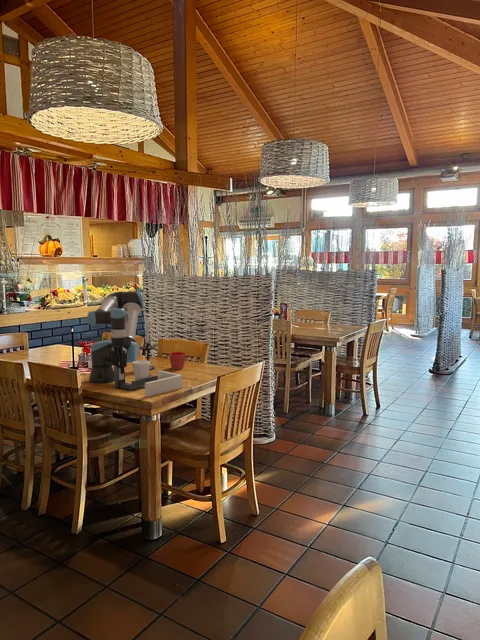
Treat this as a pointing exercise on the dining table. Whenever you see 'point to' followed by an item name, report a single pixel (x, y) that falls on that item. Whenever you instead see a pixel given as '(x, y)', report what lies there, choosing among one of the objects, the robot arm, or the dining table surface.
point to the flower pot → (177, 360)
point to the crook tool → (133, 383)
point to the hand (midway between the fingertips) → (119, 378)
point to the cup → (141, 369)
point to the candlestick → (148, 345)
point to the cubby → (164, 383)
